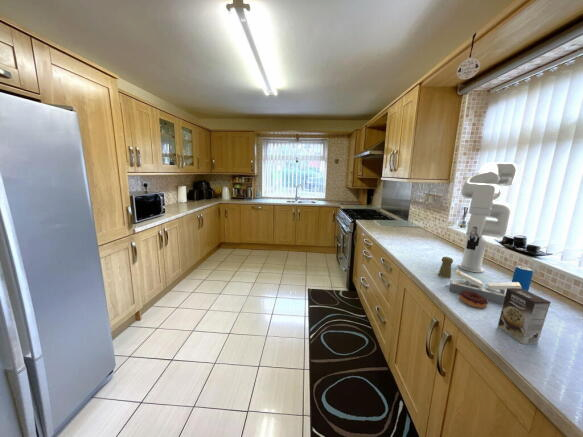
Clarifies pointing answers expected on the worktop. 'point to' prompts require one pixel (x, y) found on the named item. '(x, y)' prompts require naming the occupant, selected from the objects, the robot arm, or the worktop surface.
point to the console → (478, 290)
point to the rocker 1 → (468, 278)
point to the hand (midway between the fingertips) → (472, 247)
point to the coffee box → (523, 315)
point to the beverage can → (523, 276)
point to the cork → (446, 267)
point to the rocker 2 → (503, 285)
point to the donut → (473, 299)
